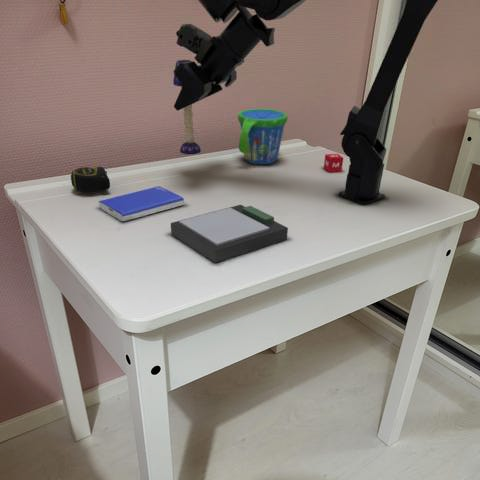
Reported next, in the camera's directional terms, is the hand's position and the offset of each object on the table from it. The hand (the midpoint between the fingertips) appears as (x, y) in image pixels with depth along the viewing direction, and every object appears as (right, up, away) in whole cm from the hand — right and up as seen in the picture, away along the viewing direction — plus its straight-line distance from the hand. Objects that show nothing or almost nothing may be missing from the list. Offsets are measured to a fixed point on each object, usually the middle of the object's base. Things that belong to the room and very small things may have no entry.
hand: (180, 106), depth 96 cm
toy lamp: (+1, -7, +5) cm, 9 cm away
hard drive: (-6, -22, -9) cm, 24 cm away
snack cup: (+16, -5, +16) cm, 24 cm away
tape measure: (-16, -17, -2) cm, 23 cm away
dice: (+32, -9, +12) cm, 36 cm away
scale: (+10, -29, -18) cm, 36 cm away
